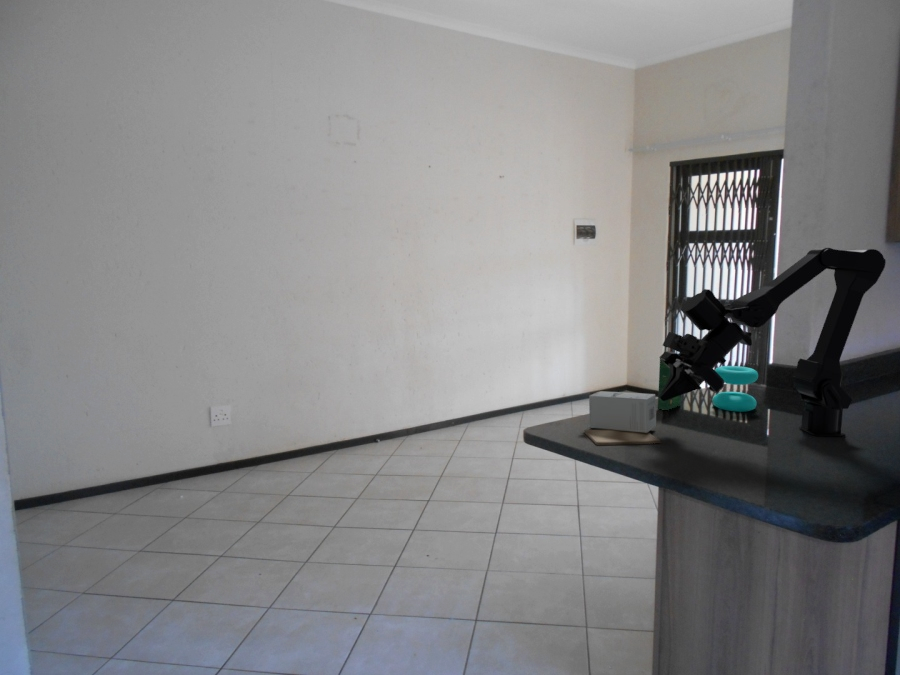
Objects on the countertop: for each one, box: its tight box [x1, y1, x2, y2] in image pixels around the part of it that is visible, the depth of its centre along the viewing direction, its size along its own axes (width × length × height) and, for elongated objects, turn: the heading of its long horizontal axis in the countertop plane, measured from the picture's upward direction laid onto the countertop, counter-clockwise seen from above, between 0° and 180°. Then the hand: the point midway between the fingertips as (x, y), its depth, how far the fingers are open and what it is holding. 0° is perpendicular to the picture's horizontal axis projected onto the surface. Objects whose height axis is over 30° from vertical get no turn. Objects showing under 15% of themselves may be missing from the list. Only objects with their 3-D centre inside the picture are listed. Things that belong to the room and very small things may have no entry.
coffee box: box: [657, 358, 682, 411], centre depth 151 cm, size 8×3×13 cm, turn 137°
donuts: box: [712, 365, 759, 413], centre depth 151 cm, size 10×10×10 cm
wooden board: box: [583, 429, 661, 446], centre depth 127 cm, size 13×9×1 cm
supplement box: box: [588, 390, 657, 433], centre depth 133 cm, size 7×7×13 cm
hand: (661, 399), depth 126 cm, fingers closed
